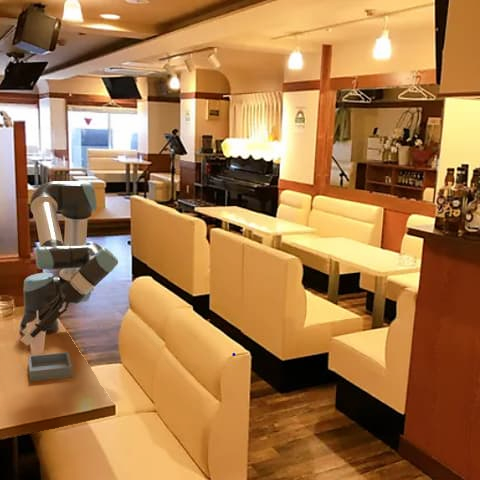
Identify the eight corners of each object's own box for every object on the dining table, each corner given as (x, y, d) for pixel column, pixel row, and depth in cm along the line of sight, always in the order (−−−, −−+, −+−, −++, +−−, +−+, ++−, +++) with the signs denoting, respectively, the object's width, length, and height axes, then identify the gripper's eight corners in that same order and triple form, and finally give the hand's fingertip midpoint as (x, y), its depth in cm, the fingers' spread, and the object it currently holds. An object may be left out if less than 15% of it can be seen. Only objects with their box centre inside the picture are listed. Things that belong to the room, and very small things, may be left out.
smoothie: (35, 357, 179) (34, 314, 177) (22, 353, 182) (21, 310, 180) (52, 351, 184) (51, 309, 182) (39, 347, 188) (38, 306, 186)
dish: (28, 365, 202) (28, 355, 201) (68, 361, 207) (68, 351, 207) (29, 381, 190) (29, 371, 189) (72, 376, 195) (72, 366, 194)
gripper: (87, 304, 176) (32, 357, 174) (84, 286, 194) (34, 334, 192) (69, 288, 173) (13, 342, 171) (68, 272, 191) (17, 320, 189)
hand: (24, 338), depth 182 cm, fingers closed on smoothie, 6 cm apart
